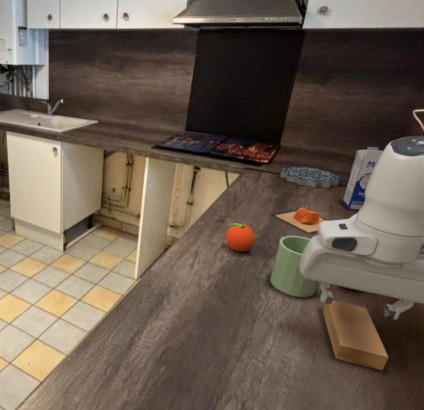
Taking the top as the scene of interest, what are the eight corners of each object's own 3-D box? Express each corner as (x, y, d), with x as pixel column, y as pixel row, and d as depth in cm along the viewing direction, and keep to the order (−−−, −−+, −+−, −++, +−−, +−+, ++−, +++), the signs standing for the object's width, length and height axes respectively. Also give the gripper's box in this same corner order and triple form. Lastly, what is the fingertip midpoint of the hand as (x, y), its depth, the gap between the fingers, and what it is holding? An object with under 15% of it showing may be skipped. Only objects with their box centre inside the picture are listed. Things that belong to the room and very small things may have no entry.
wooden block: (361, 319, 69) (366, 307, 68) (382, 370, 58) (388, 357, 57) (322, 311, 72) (326, 299, 70) (335, 358, 61) (340, 345, 59)
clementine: (215, 247, 95) (219, 223, 92) (228, 238, 99) (233, 215, 96) (244, 259, 89) (249, 234, 86) (257, 250, 93) (262, 225, 90)
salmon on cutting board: (302, 210, 116) (306, 198, 114) (338, 226, 106) (342, 213, 104) (274, 215, 112) (277, 203, 111) (308, 232, 102) (312, 219, 100)
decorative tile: (272, 171, 154) (273, 165, 153) (319, 171, 153) (321, 166, 152) (295, 187, 135) (297, 181, 134) (349, 188, 134) (351, 182, 133)
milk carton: (347, 209, 117) (366, 149, 109) (340, 201, 123) (358, 144, 115) (373, 211, 115) (394, 151, 107) (364, 203, 121) (384, 145, 113)
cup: (311, 278, 82) (323, 240, 78) (317, 301, 74) (331, 260, 70) (269, 270, 85) (278, 232, 81) (271, 291, 77) (281, 251, 73)
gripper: (458, 244, 56) (423, 314, 62) (309, 220, 63) (290, 284, 69) (480, 264, 51) (440, 339, 56) (314, 235, 58) (293, 304, 64)
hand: (356, 308), depth 63 cm, fingers open, 8 cm apart
